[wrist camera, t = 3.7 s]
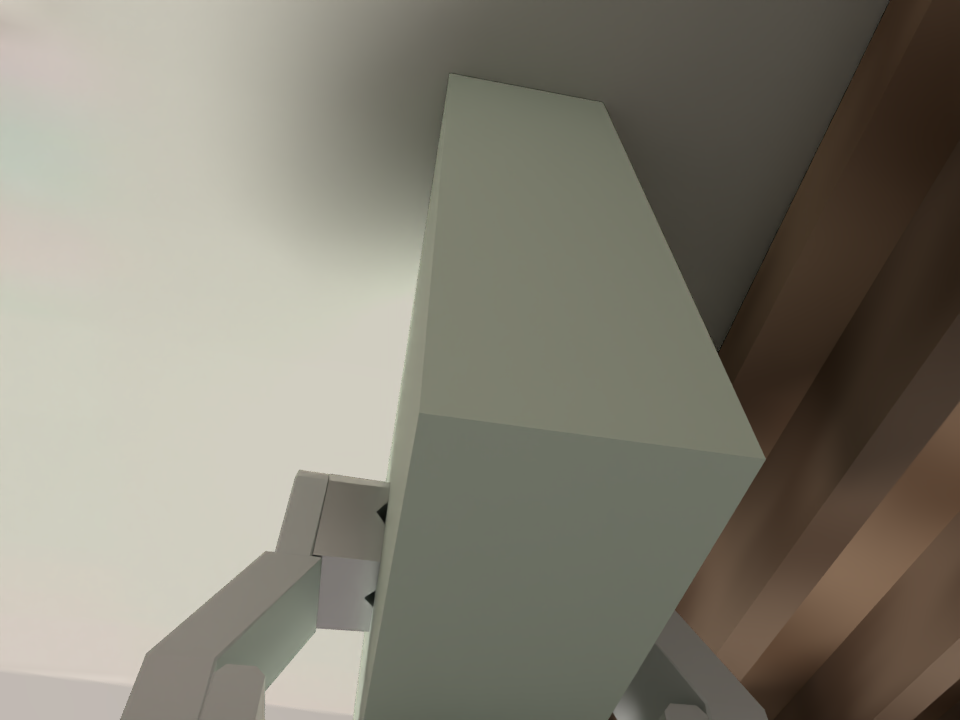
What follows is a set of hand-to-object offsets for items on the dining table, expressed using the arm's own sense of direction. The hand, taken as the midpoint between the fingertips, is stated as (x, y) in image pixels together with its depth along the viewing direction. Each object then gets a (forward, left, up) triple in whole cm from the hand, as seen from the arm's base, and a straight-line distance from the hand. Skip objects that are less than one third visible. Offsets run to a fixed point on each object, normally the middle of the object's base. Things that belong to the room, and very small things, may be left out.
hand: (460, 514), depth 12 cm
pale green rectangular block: (0, 0, -4) cm, 4 cm away
